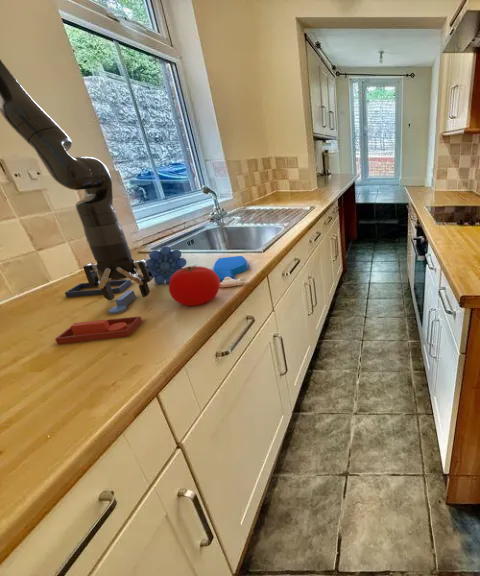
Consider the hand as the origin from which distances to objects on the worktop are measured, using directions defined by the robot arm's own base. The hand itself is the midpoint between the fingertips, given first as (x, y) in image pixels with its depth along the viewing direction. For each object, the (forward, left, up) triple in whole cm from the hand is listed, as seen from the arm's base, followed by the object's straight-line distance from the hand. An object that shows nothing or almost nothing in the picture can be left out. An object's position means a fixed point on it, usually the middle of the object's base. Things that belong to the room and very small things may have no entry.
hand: (128, 297), depth 88 cm
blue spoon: (0, -3, -1) cm, 3 cm away
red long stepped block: (+2, -18, -1) cm, 18 cm away
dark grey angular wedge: (-14, +24, -2) cm, 28 cm away
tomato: (+19, -5, -2) cm, 20 cm away
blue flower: (+6, +13, -2) cm, 15 cm away
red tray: (+2, -18, -1) cm, 18 cm away
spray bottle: (+24, +15, -2) cm, 28 cm away
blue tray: (-12, +10, -1) cm, 16 cm away
